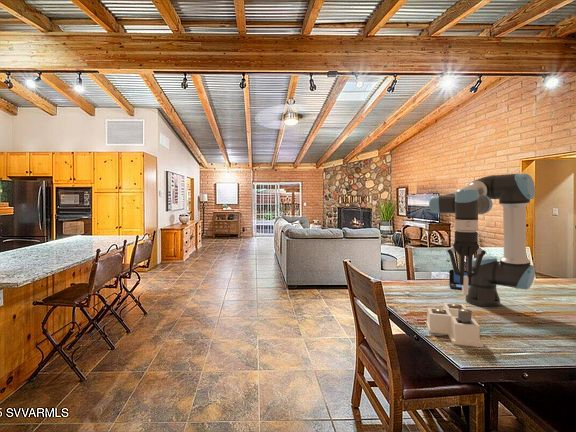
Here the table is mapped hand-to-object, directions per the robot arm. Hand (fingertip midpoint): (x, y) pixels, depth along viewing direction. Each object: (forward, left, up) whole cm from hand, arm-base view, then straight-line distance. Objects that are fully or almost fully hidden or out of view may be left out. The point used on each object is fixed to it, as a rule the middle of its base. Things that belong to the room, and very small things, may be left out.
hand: (464, 293), depth 118 cm
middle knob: (+7, -9, -16) cm, 20 cm away
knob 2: (0, 0, -13) cm, 13 cm away
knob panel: (+3, -9, -18) cm, 20 cm away
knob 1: (0, -17, -16) cm, 23 cm away
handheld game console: (-17, -79, -18) cm, 83 cm away
